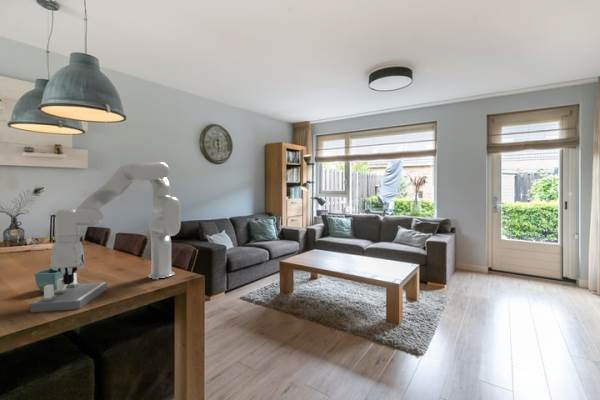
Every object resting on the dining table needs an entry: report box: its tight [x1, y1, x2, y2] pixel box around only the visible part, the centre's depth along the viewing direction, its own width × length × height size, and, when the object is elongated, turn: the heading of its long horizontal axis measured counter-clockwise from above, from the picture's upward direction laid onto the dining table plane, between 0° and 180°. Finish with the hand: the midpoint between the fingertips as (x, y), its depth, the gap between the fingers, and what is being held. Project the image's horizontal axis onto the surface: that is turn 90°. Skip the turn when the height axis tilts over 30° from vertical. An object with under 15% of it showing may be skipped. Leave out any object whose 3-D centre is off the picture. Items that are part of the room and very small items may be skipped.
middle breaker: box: [54, 279, 68, 294], centre depth 116 cm, size 4×3×5 cm
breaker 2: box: [66, 272, 80, 287], centre depth 124 cm, size 4×3×5 cm
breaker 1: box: [41, 284, 56, 301], centre depth 109 cm, size 4×3×5 cm
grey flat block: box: [29, 281, 108, 313], centre depth 117 cm, size 23×16×3 cm
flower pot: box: [34, 267, 69, 293], centre depth 128 cm, size 9×9×9 cm
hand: (68, 283), depth 117 cm, fingers closed
